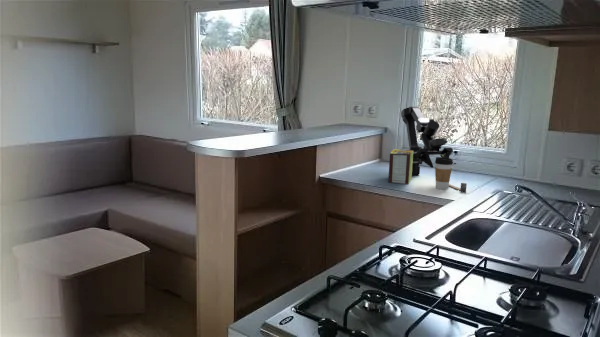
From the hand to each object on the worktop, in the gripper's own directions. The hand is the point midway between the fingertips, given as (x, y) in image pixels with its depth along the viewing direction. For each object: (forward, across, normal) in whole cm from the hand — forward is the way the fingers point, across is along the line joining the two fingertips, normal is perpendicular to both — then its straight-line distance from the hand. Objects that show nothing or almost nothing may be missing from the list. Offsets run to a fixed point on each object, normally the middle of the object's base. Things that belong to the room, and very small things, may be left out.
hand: (440, 166), depth 227 cm
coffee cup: (+9, 0, +6) cm, 11 cm away
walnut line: (+9, +6, +5) cm, 12 cm away
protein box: (-6, -11, +20) cm, 24 cm away
